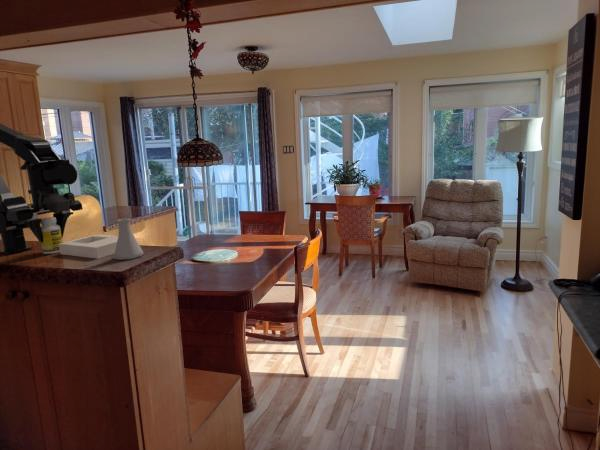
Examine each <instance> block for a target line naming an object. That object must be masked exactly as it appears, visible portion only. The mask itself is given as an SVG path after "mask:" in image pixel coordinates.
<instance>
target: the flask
mask: <svg viewBox="0 0 600 450" xmlns="http://www.w3.org/2000/svg"><path fill="white" fill-rule="evenodd" d="M130 221H131V218H126V217H125V218H120V219H117V220H116V223H117V224H118V235H117V236H118V240H117V245H116V249H115V253H114V254H113V260H119V261H122V260H123V261H124V260H132V259H133V260H134V259H135V258H139V257H142V256H143V255H144V251H143V249H142V247H141V245H140V244H139V243H138V241H137V239H136V237H135V235H134V233H133V230H132V226H131V222H130Z"/></svg>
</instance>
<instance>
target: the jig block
mask: <svg viewBox="0 0 600 450" xmlns="http://www.w3.org/2000/svg"><path fill="white" fill-rule="evenodd" d="M118 236H119V235H109V234H99V233H98V234H92V235H89V236H85V237H81V238H76V239H73V240H67V241H65V242H64V241H63V243H60V244H59V246H60V252H59V253H60V255H65V256H74V257H82V258H90V259H96V260H98V259H101V258H105V257H108V256H111V255H114V253H115V249H116V245H117V240H118Z"/></svg>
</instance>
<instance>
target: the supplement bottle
mask: <svg viewBox="0 0 600 450" xmlns="http://www.w3.org/2000/svg"><path fill="white" fill-rule="evenodd" d="M41 219H42V220H41V223H40V226H41V230H42V235H43V242H42V243H41V242H40V247H41V251H42V254H43V255H45V254H46V255H51V254H52V255H53V254H58V253H61V252H60V246H59V244H60V243H64V241H63V237H62V235H61V228H60V226H59V225H57V224H56V217H53V216H52V217H51V216H49V217H43V218H41Z"/></svg>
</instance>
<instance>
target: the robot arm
mask: <svg viewBox="0 0 600 450" xmlns="http://www.w3.org/2000/svg"><path fill="white" fill-rule="evenodd" d="M0 143H1V144H3V145H5V146H7V147H9V148H11V149H12V150H13V152H14V154H15V155H16V156H18V157H19V158H20V159H21V160H23V161H24V163H23V164H22V165H21V166H20V168H19V170H21V171H27V177H28V183H29V189H28V190H27V192H28V194H29V195H31V199H32V200H31V201H32V204H30V205H28V203H27V201H26V200H25V198H24V197H23V196H22V195H20V196H16V195H14V194H13V193H12V192H11V190H10V189H9V186H8V185H7V184H6V182H5V180H4V178H3V177H2V175H1V174H0V239H1V244H2V249H1V250H0V254H8V255H12V254H15V253H20V252H24V251H28V250H32V249H33V247H32V246H27V244H26V238H25V237H26V236H25V234H24V229H29V230H30V231H31V233H32V234H33V235H34V236H35V237H36V239H37V240H38V242H39V243H40V244H41V243H42V242H43V235H42V230H41V226H42V225H41V220H42V219H43V218H39V217H38V216H40V215H45V214H50V213H52V217H56V224H57V225H59V226H60V228H61V235H62V238H64V233H65V228H66V224H67V221H68V219H69V218H70V216H71V215H74V212H75V211H82V210H83V204H82V202H81V201H80V200H78V199H76V198H75V194H74V193H73V192H70V191H69V192H65V193H64V194H60V193H59V190H58V188H57V187H55V186H58V185H59V186H60V185H61V186H63V185H64V186H65V185H73V184H75V183H76V182H77V181H78V170H77V168H76V167H75V165H73V164H72V163H71V162H70V159H69V158H65V159H64V158H63V159H61V157H60V156H59V155H58V154H57V152H56V151H55V149H54V148H53V147H52V146H51V143H50V142H49V141H48V140H47V139H44V138H40V137H38V136H29V135H25V134H23V133H20V132H18V131H17V130H14V129H13V128H10V127H8V126H7V125H4V124H2V123H0Z"/></svg>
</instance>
